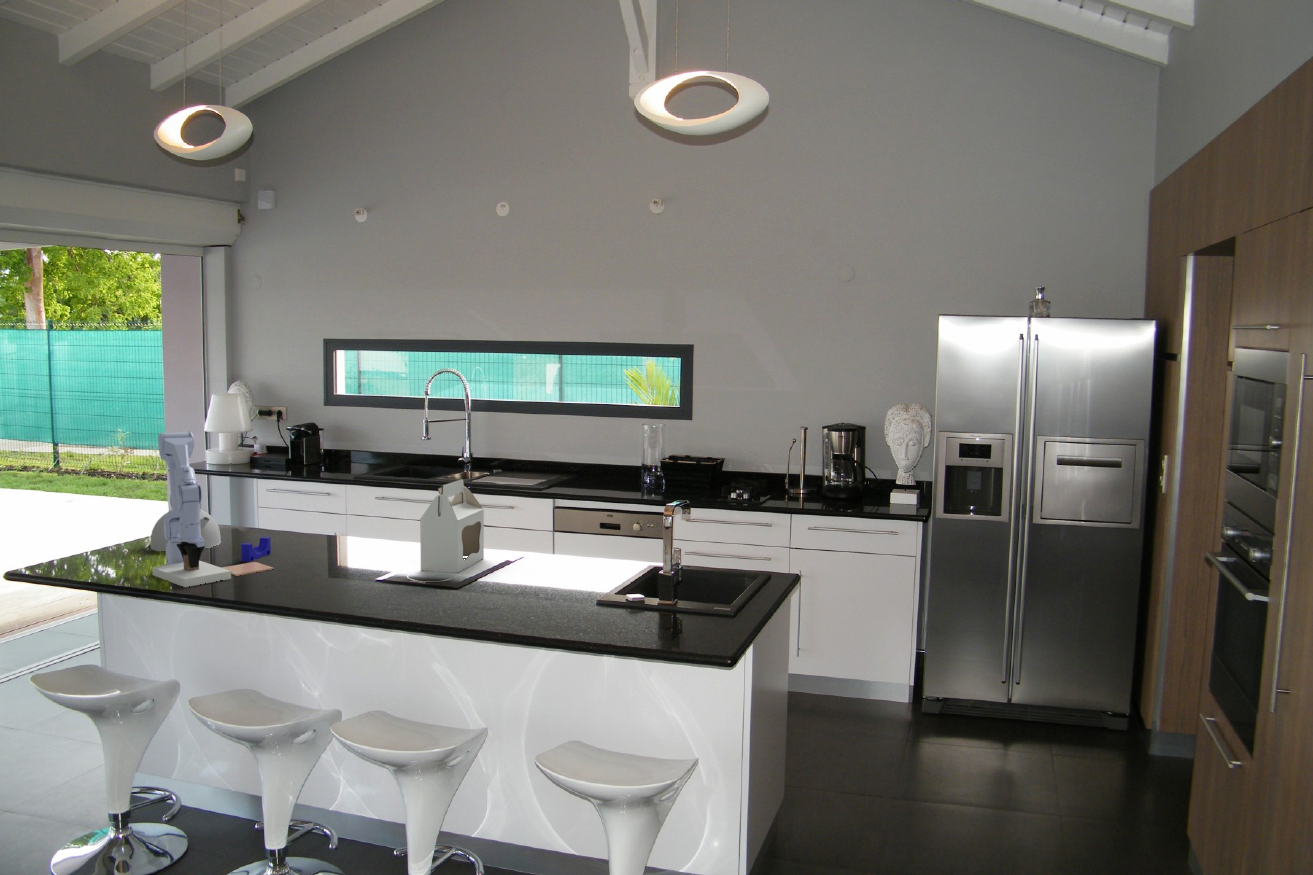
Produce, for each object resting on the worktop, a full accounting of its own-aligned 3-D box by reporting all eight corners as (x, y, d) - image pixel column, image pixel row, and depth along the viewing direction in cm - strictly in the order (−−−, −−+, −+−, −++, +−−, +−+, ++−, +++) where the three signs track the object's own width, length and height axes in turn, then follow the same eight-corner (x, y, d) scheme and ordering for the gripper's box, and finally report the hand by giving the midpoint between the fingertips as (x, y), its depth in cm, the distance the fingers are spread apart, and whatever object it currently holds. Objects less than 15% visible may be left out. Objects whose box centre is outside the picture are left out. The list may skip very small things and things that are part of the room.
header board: (152, 575, 291) (152, 567, 291) (198, 567, 302) (197, 559, 302) (184, 587, 277) (184, 579, 277) (231, 578, 288) (230, 570, 288)
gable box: (448, 556, 325) (448, 476, 322) (484, 558, 322) (484, 478, 319) (420, 570, 303) (419, 485, 300) (457, 573, 300) (457, 487, 298)
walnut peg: (184, 577, 289) (183, 555, 289) (194, 575, 292) (193, 553, 291) (188, 578, 287) (188, 556, 287) (199, 576, 290) (198, 554, 289)
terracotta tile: (219, 569, 299) (218, 567, 299) (254, 563, 309) (254, 561, 308) (237, 576, 292) (237, 574, 292) (273, 569, 301) (273, 567, 301)
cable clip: (258, 553, 324) (258, 536, 323) (270, 554, 323) (270, 537, 323) (237, 561, 312) (237, 543, 312) (249, 562, 311) (249, 544, 311)
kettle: (238, 544, 337) (236, 483, 335) (178, 556, 318) (176, 490, 316) (197, 536, 350) (195, 477, 348) (137, 546, 331) (134, 484, 329)
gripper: (166, 521, 289) (167, 564, 291) (187, 528, 280) (189, 572, 282) (189, 518, 295) (190, 560, 296) (211, 525, 286) (212, 568, 287)
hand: (191, 566), depth 289 cm, fingers closed on walnut peg, 3 cm apart
